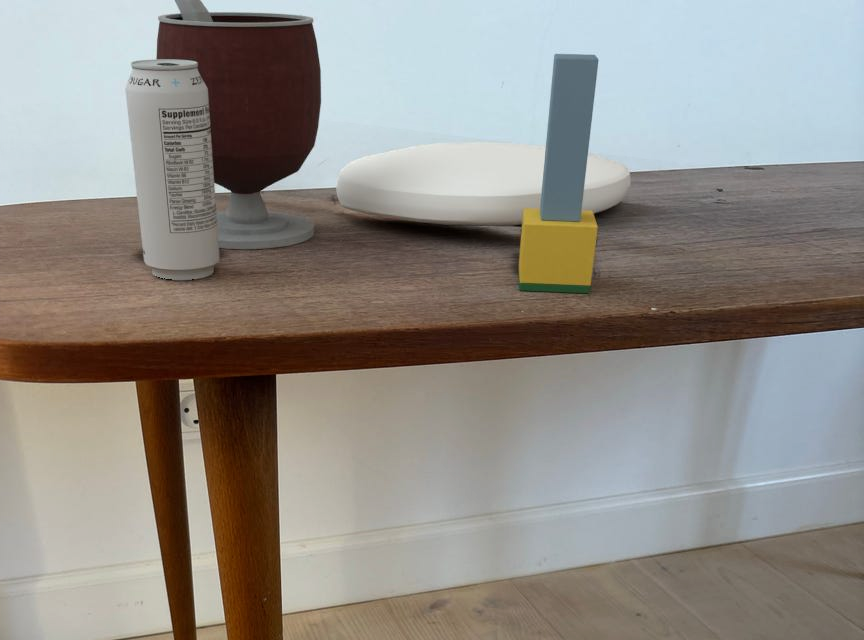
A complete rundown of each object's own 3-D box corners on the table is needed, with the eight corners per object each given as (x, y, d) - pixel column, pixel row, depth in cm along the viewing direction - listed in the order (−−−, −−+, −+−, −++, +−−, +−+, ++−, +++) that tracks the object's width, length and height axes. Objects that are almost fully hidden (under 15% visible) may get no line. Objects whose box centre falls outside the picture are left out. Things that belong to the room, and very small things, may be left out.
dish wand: (585, 274, 87) (611, 53, 78) (589, 293, 82) (618, 61, 73) (518, 272, 87) (536, 51, 78) (519, 290, 82) (538, 58, 74)
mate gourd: (352, 229, 99) (352, -23, 87) (257, 260, 89) (243, -19, 78) (227, 206, 106) (212, -29, 94) (126, 232, 96) (96, -27, 85)
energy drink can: (192, 258, 89) (175, 56, 81) (235, 273, 85) (222, 63, 77) (131, 270, 86) (106, 61, 77) (172, 286, 82) (151, 68, 74)
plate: (285, 171, 96) (403, 133, 117) (294, 245, 100) (407, 196, 120) (584, 164, 85) (657, 123, 106) (583, 248, 89) (653, 193, 109)
